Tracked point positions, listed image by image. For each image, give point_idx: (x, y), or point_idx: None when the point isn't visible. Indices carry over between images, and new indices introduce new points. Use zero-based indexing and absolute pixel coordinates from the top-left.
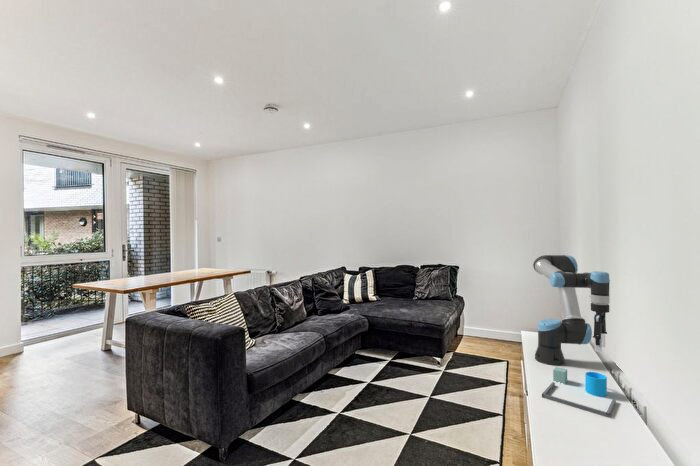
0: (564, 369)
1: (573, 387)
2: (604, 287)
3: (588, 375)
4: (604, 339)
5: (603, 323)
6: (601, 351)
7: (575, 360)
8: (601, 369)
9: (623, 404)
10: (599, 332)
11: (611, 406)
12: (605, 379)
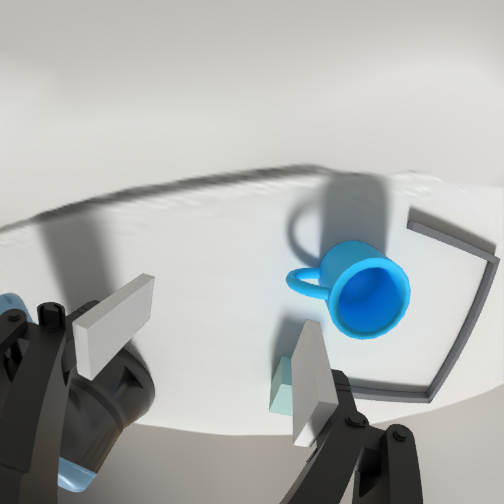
0: (287, 391)
1: (334, 340)
2: None
3: (382, 329)
4: (119, 308)
5: (31, 470)
6: (312, 323)
7: (65, 302)
8: (92, 229)
9: (412, 198)
10: (417, 484)
11: (466, 245)
12: (395, 263)
